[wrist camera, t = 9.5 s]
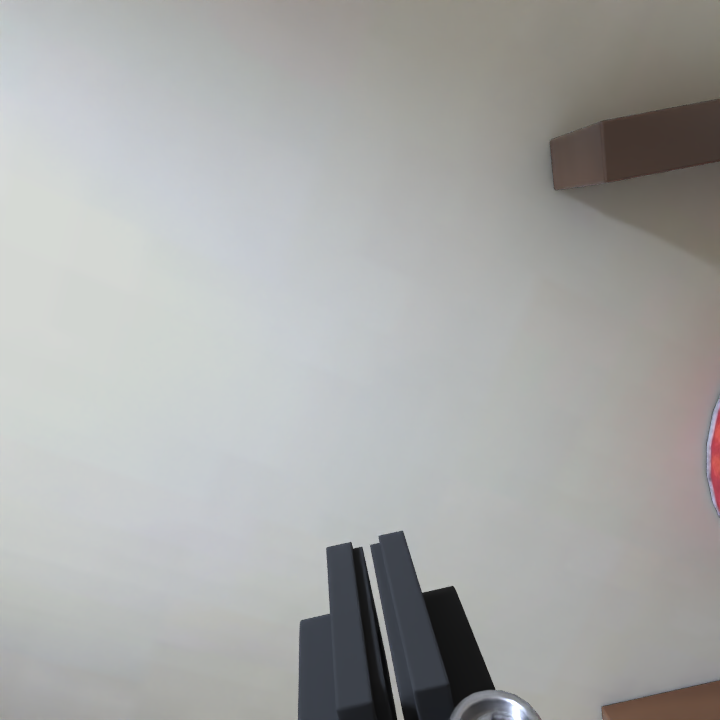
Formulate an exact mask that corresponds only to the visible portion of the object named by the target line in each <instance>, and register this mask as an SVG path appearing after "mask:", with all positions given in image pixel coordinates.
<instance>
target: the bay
mask: <svg viewBox="0 0 720 720" xmlns="http://www.w3.org/2000/svg"><path fill="white" fill-rule="evenodd" d="M550 149H551V160H552V171H553V182H554V189H555V190H563V189H569V188H576V187H583V186H590V185H597V184H604V183H610V182H615V181H620V180H625V179H631V178H636V177H641V176H646V175H651V174H657V173H662V172H667V171H672V170H677V169H683V168H688V167H693V166H698V165H703V164H708V163H714V162H719V161H720V99H715V100H709V101H704V102H699V103H693V104H688V105H683V106H678V107H672V108H667V109H662V110H656V111H651V112H646V113H641V114H635V115H630V116H625V117H619V118H614V119H609V120H603V121H600V122H597V123H595V124H592V125H589V126H586V127H584V128H581V129H578V130H575V131H573V132H570V133H567V134H565V135H562V136H559V137H556V138H554V139H551V140H550ZM602 717H603V720H720V680H719V681H715V682H710V683H706V684H701V685H697V686H692V687H688V688H683V689H679V690H674V691H670V692H665V693H661V694H656V695H652V696H647V697H643V698H638V699H634V700H629V701H625V702H620V703H616V704H611V705H607V706H603V707H602Z"/></svg>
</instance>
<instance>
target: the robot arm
mask: <svg viewBox="0 0 720 720" xmlns="http://www.w3.org/2000/svg"><path fill="white" fill-rule="evenodd" d="M379 542H380V543H377V544H373V545H370V547H371V552H372V557H373V562H374V568H375V573H376V578H377V583H378V588H379V594H380V599H381V604H382V609H383V614H384V619H385V625H386V630H387V635H388V640H389V645H390V651H391V656H392V661H393V666H394V671H395V676H396V682H397V687H398V692H399V697H400V701H401V706H402V711H403V716H404V720H541V718H540V716H539V715H538V714H537V712H536V711H535V710H534V709H533V708H532V707H531V706H530V704H529V703H528V702H526V701H524V700H523V699H521V698H520V697H518V696H517V695H515V694H511V693H508V692H505V691H502V690H495V687H494V685H493V682H492V680H491V677H490V675H489V672H488V670H487V667H486V665H485V662H484V660H483V657H482V655H481V652H480V650H479V647H478V645H477V642H476V640H475V637H474V635H473V632H472V630H471V627H470V625H469V622H468V620H467V617H466V615H465V612H464V609H463V607H462V604H461V602H460V599H459V597H458V594H457V592H456V590H455V588H454V587H453V586H451V587H446V588H442V589H437V590H433V591H429V592H424V593H422V592H421V588H420V585H419V582H418V578H417V575H416V572H415V569H414V565H413V562H412V559H411V556H410V552H409V549H408V546H407V542H406V539H405V536H404V533H403V531H399V532H394V533H390V534H385V535H381V536H379ZM326 550H327V568H328V584H329V601H330V614H327V615H322V616H318V617H314V618H309V619H305V620H301V622H300V638H299V699H298V720H397V716H396V710H395V705H394V699H393V693H392V688H391V682H390V677H389V671H388V666H387V660H386V655H385V650H384V646H383V641H382V636H381V632H380V627H379V622H378V618H377V613H376V608H375V604H374V599H373V594H372V590H371V585H370V580H369V575H368V571H367V566H366V561H365V557H364V552H363V548H362V547H359V548H354V549H353V547H352V543H351V542H349V543H345V544H340V545H335V546H331V547H327V548H326Z"/></svg>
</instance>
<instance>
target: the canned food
mask: <svg viewBox="0 0 720 720" xmlns="http://www.w3.org/2000/svg"><path fill="white" fill-rule="evenodd" d="M707 478H708V483H709V487H710V492H711V497H712V501H713V504H714V506H715V508H716V510H717V513H718V515H719V517H720V396H719V399H718V401H717V404H716V406H715V409H714V411H713V416H712V420H711V425H710V430H709V435H708V440H707Z"/></svg>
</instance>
